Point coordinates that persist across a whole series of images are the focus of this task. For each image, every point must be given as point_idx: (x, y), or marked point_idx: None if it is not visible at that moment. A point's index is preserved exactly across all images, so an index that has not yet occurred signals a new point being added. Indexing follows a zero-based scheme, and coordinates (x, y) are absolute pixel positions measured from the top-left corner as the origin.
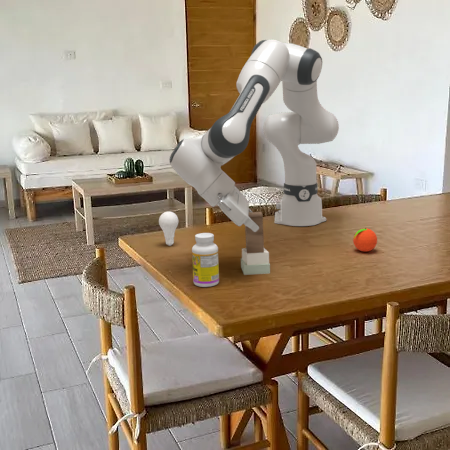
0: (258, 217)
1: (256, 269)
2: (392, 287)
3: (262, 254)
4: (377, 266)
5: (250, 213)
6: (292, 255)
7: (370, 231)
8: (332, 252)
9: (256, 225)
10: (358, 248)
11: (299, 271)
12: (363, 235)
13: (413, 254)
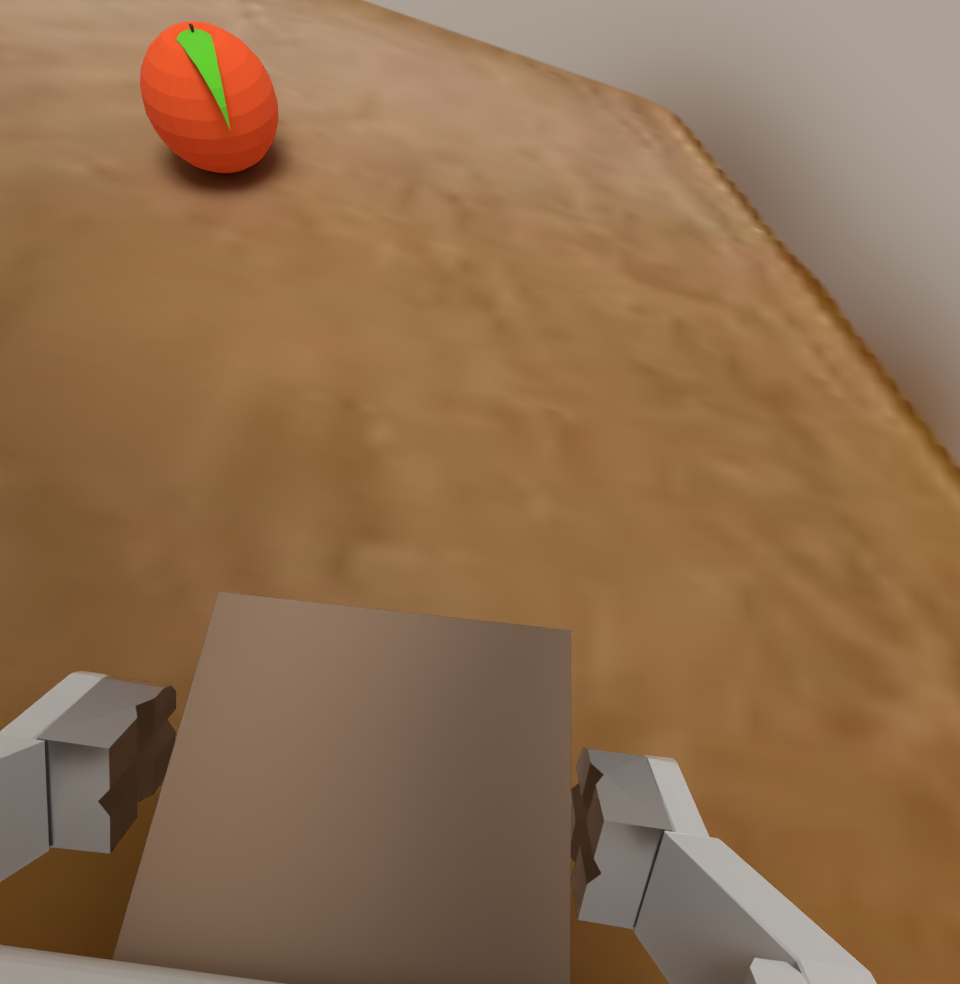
0: (560, 722)
1: None
2: (738, 239)
3: None
4: (471, 196)
5: (260, 886)
6: (134, 474)
7: (229, 34)
8: (181, 273)
9: (687, 801)
10: (238, 166)
11: (482, 511)
12: (242, 78)
13: (345, 62)
